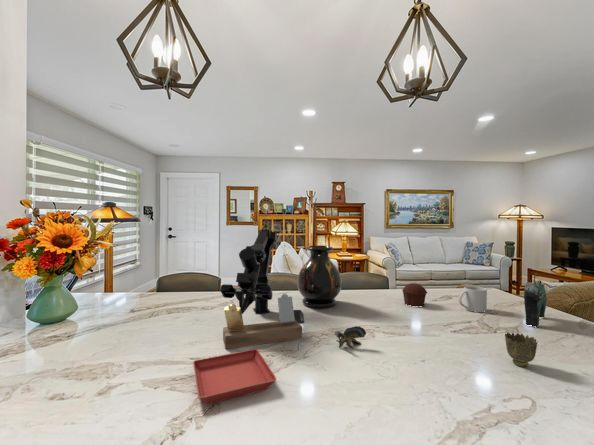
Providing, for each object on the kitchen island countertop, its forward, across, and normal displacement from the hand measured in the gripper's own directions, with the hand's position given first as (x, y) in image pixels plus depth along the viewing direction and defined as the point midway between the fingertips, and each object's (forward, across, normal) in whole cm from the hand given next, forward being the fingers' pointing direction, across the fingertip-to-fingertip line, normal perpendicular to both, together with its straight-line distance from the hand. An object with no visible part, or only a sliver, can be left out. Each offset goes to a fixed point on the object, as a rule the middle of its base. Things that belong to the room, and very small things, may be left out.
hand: (241, 313), depth 103 cm
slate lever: (+1, +16, +5) cm, 17 cm away
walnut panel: (+6, +8, +5) cm, 11 cm away
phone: (-10, +15, +22) cm, 29 cm away
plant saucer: (+25, +7, -14) cm, 29 cm away
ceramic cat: (-16, +113, +29) cm, 118 cm away
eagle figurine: (+8, +38, +4) cm, 39 cm away
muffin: (-29, +71, +42) cm, 87 cm away
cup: (+11, +85, 0) cm, 86 cm away
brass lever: (+6, 0, -1) cm, 6 cm away
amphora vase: (-24, +25, +37) cm, 51 cm away
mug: (-26, +95, +39) cm, 106 cm away
